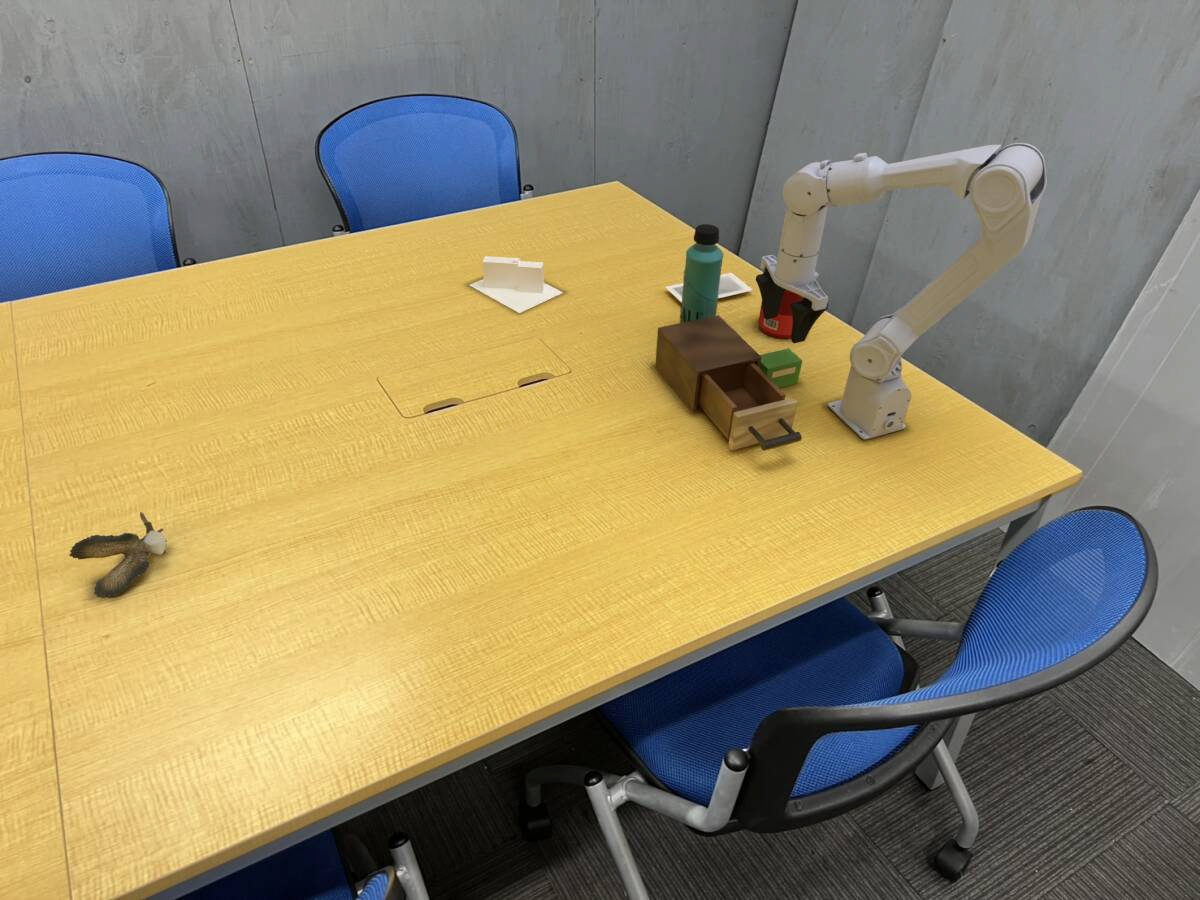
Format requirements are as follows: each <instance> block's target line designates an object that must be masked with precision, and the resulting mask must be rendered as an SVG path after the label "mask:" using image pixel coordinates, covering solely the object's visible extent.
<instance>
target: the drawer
mask: <svg viewBox="0 0 1200 900" xmlns="http://www.w3.org/2000/svg"><path fill="white" fill-rule="evenodd" d="M697 403H698V405H699V406H700V407H701V408H702V409H703V410H702V411H703V412H704V413H705V415H707V416H708V418H709V419H710V420H711V421H712V422H713V423H714V425H715V426H716V427H717V428H718V429H719V431H720V432H721V433H722V434H723V435H724V437H725V438H726V439H727V440H729V441H728V448H730V450H731V451H735V450H738V449H742V448H746V447H750V446H752V445H753V446H754V445H757V444H760V445H759V446H760V448H761V450H762V451H764V452H766V451H768V450H769V451H770V450H772V449H777V448H779V447H780V448H781V447H783V446H788V445H791V444H794V443H798V442H801V441H802V439H803V437H802V434H801V432H800V431H795V430H794V429H793V425H794V420H795V416H796V411H797V407H798V401H797V400H796V398H794V397H789V398H786V393H785V392H784V391H783V390H782V389H781V388H779V387H778V386H777V385H776V384H775V383H774V382H773V381H772V380H771V379H770V378H769V377H768V376H767V375H766V374H765V373H764V372H763V371H762V370H761V369H760V368H759V367H758V366H757V365H756V364H755V363H754V362H752V363H747V364H743V365H739V366H735V367H730V368H726V369H722V370H717V371H713V372H709V373H704V374H701V376H700V384H699V393H698V401H697Z"/></svg>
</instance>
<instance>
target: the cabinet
mask: <svg viewBox="0 0 1200 900" xmlns="http://www.w3.org/2000/svg"><path fill="white" fill-rule="evenodd" d="M656 336H657V337H656V350H655V362H654V367H655V369H656V371H658V373H659V374H660V375H661V376H662V378H663V379H664V380H665V381H666V382H667V383H668V385H669V386H670V387H671V388H672V389H673V391H674V392H675V393H676V395H678V397H679V398H680V399H681V401H683V403H684V404H685V405H686V406H687V407H688V409H689V410H690V411H691V412H692V413H698V412H703V411H704V410H703V409H702V408H701V407H700V406H699V405H698V403H697V401H698V393H699V384H700V376H701V374H704V373H709V372H713V371H717V370H722V369H726V368H730V367H735V366H739V365H743V364H747V363H752V362H754V363H755V364H756V365H757V366H758V367H759V368H760V364H761V359H762V357H761V356H760V355H761V354H759V353H758V352H757V351H756V350H755V349H754V348H753V347H752V346H751V345H750V344H749V343H748V342H747V340H745V339H744V338H743V337H742V336H741V335H739V333H738V332H736V330H735V329H734V328H732V327H731V325H729V324H728V323H727V322H726V321H725V319H723V318H722V317H721V316H720V315H719V314H717V315H716V316H712V317H707V318H702V319H697V320H693V321H688V322H683V323H680V322H679V323H674V324H669V325H664V326H659V327H657V335H656Z"/></svg>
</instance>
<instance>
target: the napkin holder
mask: <svg viewBox="0 0 1200 900" xmlns="http://www.w3.org/2000/svg"><path fill="white" fill-rule="evenodd" d="M521 259H522V258H520V257H506V256H489V255H488V256H487V255H486V256H484V257H483V260H482V272H483V273H482V274H483V278H482V279H480V280H477V281H475V282H472V283H471V284H468V286H469V287H471V288H473V289H475V290H477V291H478V292H480V293H482V294H484V295H486V296H487V297H490V298H491V299H493V300H495V301H497V302H498V303H500V304H502V305H504V306H506V308H509V309H510V310H512V311H515V312H517V313H518V314H521V313H524V312H525V311H527V310H529V309H532V308H533V307H536V306H539V305H540V304H543V303H544V302H547V301H549V300H550V299H553V298H555V297H557V296H560V295H562V294H564V292H563V291H561V290H559V289H557V288H556V287H553V286H551V285H550V284H548V283H545V269H544V262H543V261H528V260H527V261H526V260H521Z"/></svg>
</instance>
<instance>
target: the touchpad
mask: <svg viewBox="0 0 1200 900" xmlns="http://www.w3.org/2000/svg"><path fill="white" fill-rule="evenodd" d="M683 283H684V282H681V283H676V284H672V285H667V286H665V287H664V288H665V289H666V290H667V291H669V293H671V294H672V295H673V296H674V297H675V298H676V299H677V300H678V301H679V302H680V303H682V296H683V292H682V291H683V287H682V286H683V285H684V284H683ZM752 291H754V289H752V287H750V286H749V285H748V284H746V283H745V282H744V281H743V280H742V279H740V278H739V277H737V276H736V275H735V274H734V273H733V272H727V273H723V274H721V275H720V283H719V291H718V292H719V293H718V299H722V298H725V297H730V296H731V297H732V296H734V295H735V296H736V295H739V294H743V293H747V292H752Z"/></svg>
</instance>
